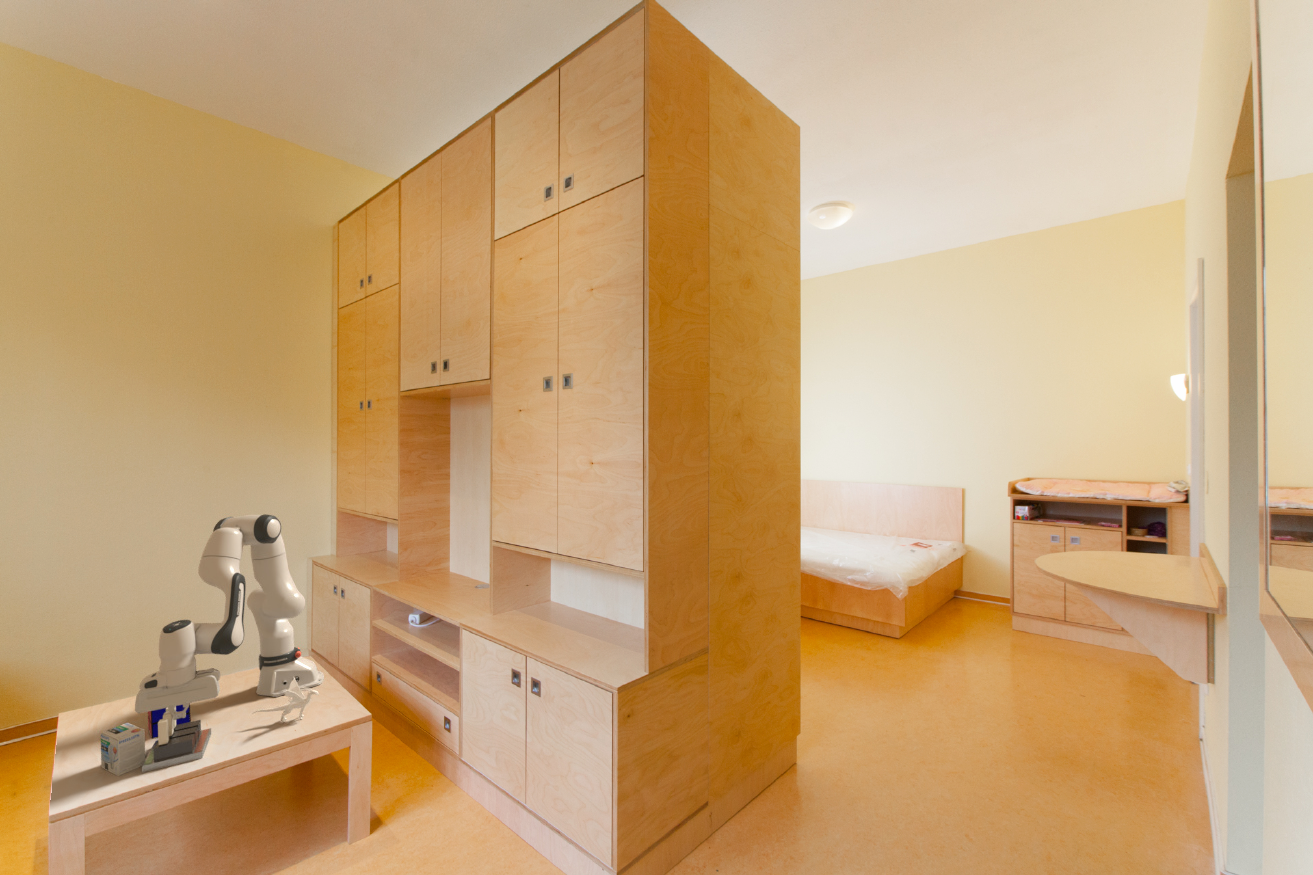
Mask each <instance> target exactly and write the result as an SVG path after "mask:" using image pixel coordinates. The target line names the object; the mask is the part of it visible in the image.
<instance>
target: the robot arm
mask: <svg viewBox="0 0 1313 875" xmlns="http://www.w3.org/2000/svg"><path fill="white" fill-rule="evenodd" d="M281 532H282V524H281V521H280V520H279V519H278V517H277V516H275V515H273V514H246V515H239V516H228V517H224V518H221V519H220V520H218V521H217V523H215V526H214V527H213V530H212V532H211V535H210V537H209V538H208V540H207V542H206V544H205V545H204V546H205V547H204V549H203V551H202V555H201V558H200V560H199V561H200V562H199V565H198V576H199V578H200V579H201V581H203V582H204V583H206V584H208V585H209V586H212V587H214V588H217V589H219V590H221V591H222V592H223V594H224V595H225V604H224V615H223V620H222V621H221V622H193V621H192V620H190V619H180V620H175V621H172V622H170V623H168V624H167V625H165V626H163V627H162V629H161V631H160V634H159V642H158V657H159V659H160V665H159V668H158V669H159V670H158V671H156V672H153V673H151V674H148V675H147V676H145V677H144V678H142V680H141V681H140V684H139V691H138V693H137V694H136V697H135V702H134V711H135V713H137V714H142V713H148V711H153V710H158V709H163V708H168V711H169V712H170V713H171V714H172V715H173V720H176V719H181V718H185V716H186V710H187V708H188V707H189V705H190V706H191V704H193V703H197V702H201V701H206V700H210V699H216V698H217V697H218V696H219V694H220V691H221V690H220V689H221V688H220V681H219V680H220V678H221V672H220V670H219V669H218V668H217V669H216V668H212V667H211V668H208V669H201V670H197V658H196V655H223V656H225V655H226V656H227V655H230V654H232V653H234V652H235V651H236V650H237V649H238V648H239V647H240V646H241V645H242V644H243V642H244V640H245V627H244V618H245V617H244V616H245V604H247V608H248V610H250V612H251V613H252V615H253V618H254V621H255V625H256V627H257V631H258V635H259V649H260V650H259V651H260V652H259V655H258V668H259V678H258V683H257V688H256V691H255V693H256V694H257V695H258V696H264V697H265V696H268V697H269V696H270V697H273V698H277V697H280V696H283V695H284V696H285V692H286V690H289V687H290V684H291V682H292V680H293V679H294V678H295V680H296V682H297V684H298V686H299V688H300V689H304V688H301V687H305V688H309V689H311V688H313V687H317V686H319V685H320V684H322V683H323V682H324V680H325V675H324V672H323V671H321V670H318V667H317V665H316V663H315V662H314V661H313V660H311V659H308V658H307V657H303V656H302V652H301V648H300V647H295V629H294V627H293V625H292V624H291V623H290V621H289V619H293V618H294V619H295V618H297V617H298V616H300V615H301V614H302V612H303V611H304V609H305V607H306V599H305V597H304V595H303V594H302V593H301V592H300V591H299V590H298V587H297V586H296V584H295V582H294V579H293V577H292V575H291V572H290V570H289V564H288V557H287V552H286V546H285V541H284V539H283V536H282V533H281ZM245 546H250V557H251V563H252V564H251V565H252V570H253V576H254V579H255V581H256V582H257V583H258V584H259V585H260V587H258V588H255V589H254V590H252V591H251V592H250V593H249V595H248V597H247V598H246V585H247V584H246V578H245V576H244V574H242V573H241V569H240V566H241V565H240V564H241V560H242V556H243V549H244V548H243V547H245ZM245 601H246V602H245ZM178 705H183V707H185V708H184V710H183V711H180V712H176V710H175V709H174V708H175V706H178Z"/></svg>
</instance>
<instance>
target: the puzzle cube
mask: <svg viewBox="0 0 1313 875" xmlns="http://www.w3.org/2000/svg"><path fill="white" fill-rule="evenodd" d="M184 708H185V707H183V705H178V706H176V712H180V711H183V710H184ZM165 712H166V708H163V709H158V710H153V711H148V712H147V728H148V732H149V735H150V737H151V739H156V738H158V722H159V720H161V719H163V715H164V713H165ZM191 720H192V719H191V704H190V705H189V707H188V708H187V710H186V716H185V718H181V719H176V725H178V724H183V723H188V722H192V721H191Z"/></svg>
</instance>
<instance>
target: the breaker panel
mask: <svg viewBox="0 0 1313 875" xmlns="http://www.w3.org/2000/svg"><path fill="white" fill-rule="evenodd" d="M201 723H202V722H201V719H198V720H194V721H191V722H188V723H183V724H178V725H176V727H175V728H174V732H173V734H172V736H169V741H168V743H166V744H162V745H159V743H158V739H157V740H155V741H154V743H153V745H152V747H151V749H150V750H149V752H148V754H147V756H146V757H145V762H144V763H143V765H142V766H141V773H142V774H143V773H146V772H147V773H148V772H151V771H155V770H160V769H164V768H168V767H172V766H175V765H180V764H184V763H189V762H191V761H195V760H196V761H197V760H200V759H203V757H204V754H205V752H206V750H207V747H208V744H209V741H210V738H211V736H212V728H211V727H210V728H206V729H202V726H201Z"/></svg>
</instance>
